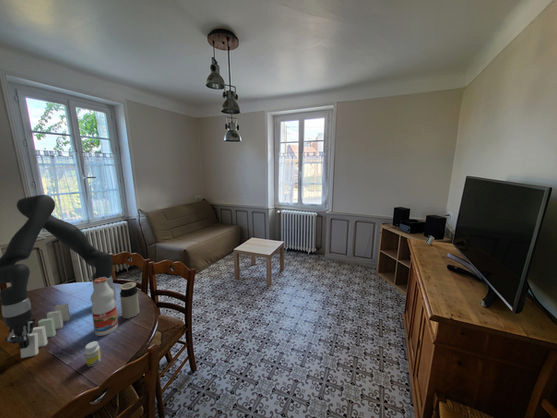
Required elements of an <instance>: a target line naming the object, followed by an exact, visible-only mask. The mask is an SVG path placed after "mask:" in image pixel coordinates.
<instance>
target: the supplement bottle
mask: <svg viewBox="0 0 557 418" xmlns="http://www.w3.org/2000/svg"><path fill="white" fill-rule="evenodd" d="M84 350H85V351H84V356H85V361H86V366H87V367H93V366H96V365H97V364H99V363H100V361H101V360H102V355H101V354H102V353H101V346H100V345H99V343H98V341H97V340H95V341H91V342H89V343H87V344H86V345H85V347H84Z"/></svg>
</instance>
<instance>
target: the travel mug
mask: <svg viewBox="0 0 557 418" xmlns="http://www.w3.org/2000/svg"><path fill="white" fill-rule="evenodd" d="M136 285H137V283H136V282H134V281H133V282H132V281H130V282H126V283H123V284H121V285H120V286H119V290H120V292H119V295H120V296H119V297H120V304H121V314H122V315H121V316H122V318H123V319H125V318H128V319H132V318H134V316H135V317H136V316H138V315H139V314H140V303H139V294H138V288H137V286H136ZM138 313H139V314H138ZM137 314H138V315H137ZM131 317H132V318H131Z"/></svg>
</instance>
